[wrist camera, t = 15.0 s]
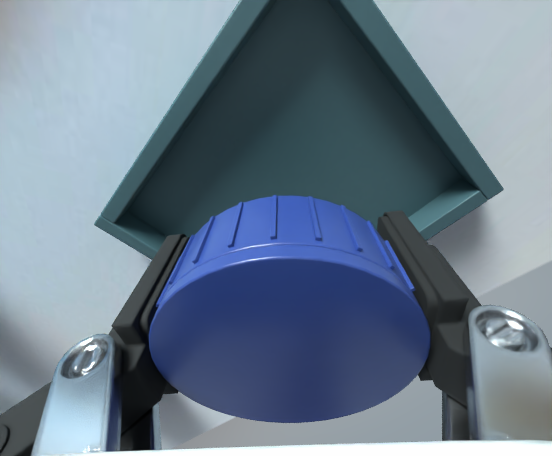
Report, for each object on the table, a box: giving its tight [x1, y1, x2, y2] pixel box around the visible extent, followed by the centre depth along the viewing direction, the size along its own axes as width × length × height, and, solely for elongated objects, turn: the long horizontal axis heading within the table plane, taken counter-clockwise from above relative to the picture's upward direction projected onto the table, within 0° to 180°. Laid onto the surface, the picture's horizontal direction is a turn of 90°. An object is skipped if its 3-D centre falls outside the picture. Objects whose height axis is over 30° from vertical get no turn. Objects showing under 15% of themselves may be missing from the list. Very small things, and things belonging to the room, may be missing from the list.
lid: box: [149, 195, 430, 423], centre depth 8 cm, size 7×7×2 cm
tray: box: [94, 0, 503, 260], centre depth 14 cm, size 16×14×2 cm
